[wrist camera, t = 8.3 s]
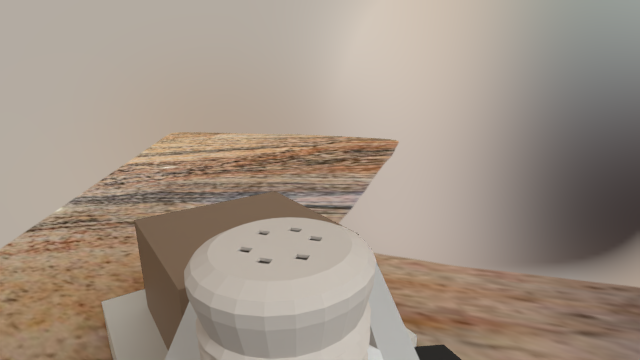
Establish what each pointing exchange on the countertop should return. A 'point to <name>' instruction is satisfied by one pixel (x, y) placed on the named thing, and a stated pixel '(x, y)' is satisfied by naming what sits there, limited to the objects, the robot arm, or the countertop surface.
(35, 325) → the countertop surface
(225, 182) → the countertop surface
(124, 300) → the stand
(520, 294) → the countertop surface
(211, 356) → the salt shaker
